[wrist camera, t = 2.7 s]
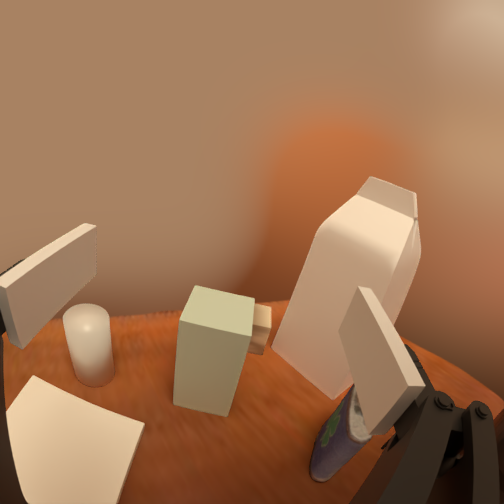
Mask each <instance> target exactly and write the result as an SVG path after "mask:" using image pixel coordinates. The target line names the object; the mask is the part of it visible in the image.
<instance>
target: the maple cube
mask: <svg viewBox="0 0 504 504" xmlns="http://www.w3.org/2000/svg"><path fill="white" fill-rule="evenodd" d="M270 330H271V307H268V306H263V305H259V304H254V313H253V325H252V336H251V340H250V343H249V347H248V350H247V352H248V353H253V354H258V355H262V354H263V351H264V348H265V345H266V342H267V339H268V336H269V333H270Z"/></svg>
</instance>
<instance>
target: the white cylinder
mask: <svg viewBox="0 0 504 504" xmlns="http://www.w3.org/2000/svg"><path fill="white" fill-rule="evenodd" d="M63 323H64V328H65V333H66V338H67V343H68V347H69V352H70V356H71V360H72V364H73V368H74V371H75V375H76V377H77V379H78V380H79V381H80V382H81V383H82V384H84V385H86V386H89V387H102V386H105V385H107V384H108V383H110V382H111V381H112V379H113V377H114V375H115V370H114V362H113V354H112V345H111V335H110V323H109V315H108V313H107V312H106V311H105V310H104V309H103V308H102V307H100V306H98V305H94V304H79V305H75V306H73V307H71V308H69V309H68V310H67V311H66V312H65V314H64V316H63Z"/></svg>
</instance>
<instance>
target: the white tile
mask: <svg viewBox="0 0 504 504" xmlns="http://www.w3.org/2000/svg"><path fill="white" fill-rule="evenodd" d="M6 417H7V425H8V431H9V438H10V444H11V449H12V454H13V459H14V463H15V467H16V472H17V476H18V479H19V483H20V487H21V490H22V493H23V496H24V498H25V500H26V501H27V503H29V504H118V502H119V499H120V496H121V493H122V490H123V487H124V484H125V481H126V479H127V476H128V473H129V470H130V467H131V464H132V461H133V458H134V456H135V453H136V450H137V447H138V444H139V442H140V439H141V436H142V433H143V431H144V428H145V424H144V423H142V422H139V421H136V420H133V419H130V418H128V417H125V416H122V415H119V414H116V413H114V412H111V411H109V410H106V409H103V408H101V407H99V406H96V405H94V404H91V403H89V402H87V401H84V400H82V399H80V398H78V397H75V396H73V395H71V394H69V393H67V392H65V391H63V390H61V389H59V388H57V387H55V386H53V385H51V384H49V383H47V382H45V381H43V380H41V379H40V378H38V377H36V376H34V375H33V376H32V377H31V379H30V380H29V381H28V383H27V384H26V385H25V387H24V388H23V389H22V391H21V392H20V393H19V395H18V396H17V397H16V399H15V400H14V402H13V403H12V404H11V406H10V407H9V409H8V410H7V412H6Z"/></svg>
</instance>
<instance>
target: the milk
mask: <svg viewBox="0 0 504 504" xmlns="http://www.w3.org/2000/svg"><path fill="white" fill-rule="evenodd" d="M417 217H418V216H417V197H416V193H414V192H411V191H409V190H406V189H404V188H401V187H399V186H396V185H394V184H391V183H388V182H386V181H383V180H380V179H378V178H375V177H371V176H370V177H369V178H368V180H367V181H366V182H365V184H364V185H363V186H362V187H361V189H360V190H359V191H358V192H357V195H355V196H353V197H352V198H351V199H350V200H349V201H347V202H346V203H345V204H344V205H343V206H342V207H340V208H339V209H338V210H337V211H336V212H335V213H333V214H332V215H331V216H330V217H329V218H328V219H326V220H325V221H324V222H323V224H322V225H321V226H320V227H319V229H318V230H317V232H316V235H315V237H314V240H313V243H312V245H311V248H310V251H309V253H308V256H307V259H306V261H305V264H304V267H303V269H302V272H301V274H300V277H299V280H298V282H297V285H296V287H295V290H294V292H293V295H292V297H291V300H290V302H289V305H288V307H287V310H286V312H285V315H284V317H283V319H282V322H281V324H280V327H279V329H278V331H277V334H276V336H275V339H274V341H273V343H272V346H271V348H272V349H273V350H274V351H275V352H276V353H277V354H278V355H280V356H281V357H282V358H283V359H284V360H285V361H286V362H288V363H289V364H290V365H291V366H292V367H293V368H294V369H296V370H297V371H298V372H299V373H300V374H302V375H303V376H304V377H305V378H306V379H307V380H309V381H310V382H311V383H312V384H313V385H315V386H316V387H317V388H318V389H319V390H321V391H322V392H323V393H324V394H325V395H327V396H328V397H329V398H330V399H332V400H334V399H335V398H336V397H338V396H339V395H340V394H341V393H342V392H344V391H345V390H346V389H347V388H349V387H350V386H351V385H352V384H353V383H354V381H353V378H352V375H351V371H350V368H349V364H348V361H347V358H346V355H345V351H344V348H343V345H342V342H341V339H340V335H339V332H338V330H339V328H340V325H341V323H342V321H343V319H344V317H345V315H346V312H347V310H348V308H349V305H350V303H351V301H352V299H353V296H354V294H355V291H356V289H357V287H358V286H361V287H365V288H370V289H372V291H373V293H374V294H375V296H376V297H377V299H378V301H379V302H380V304H381V306H382V307H383V309H384V311H385V313H386V314H387V316H388V318H389V319H390V321H391V323H392V325H394V323H395V321H396V318H397V316H398V314H399V312H400V309H401V307H402V305H403V302H404V300H405V297H406V295H407V292H408V290H409V288H410V285H411V282H412V280H413V277H414V275H415V272H416V269H417V266H418V264H419V260H420V256H421V244H420V234H419V226H418V221H417Z"/></svg>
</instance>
